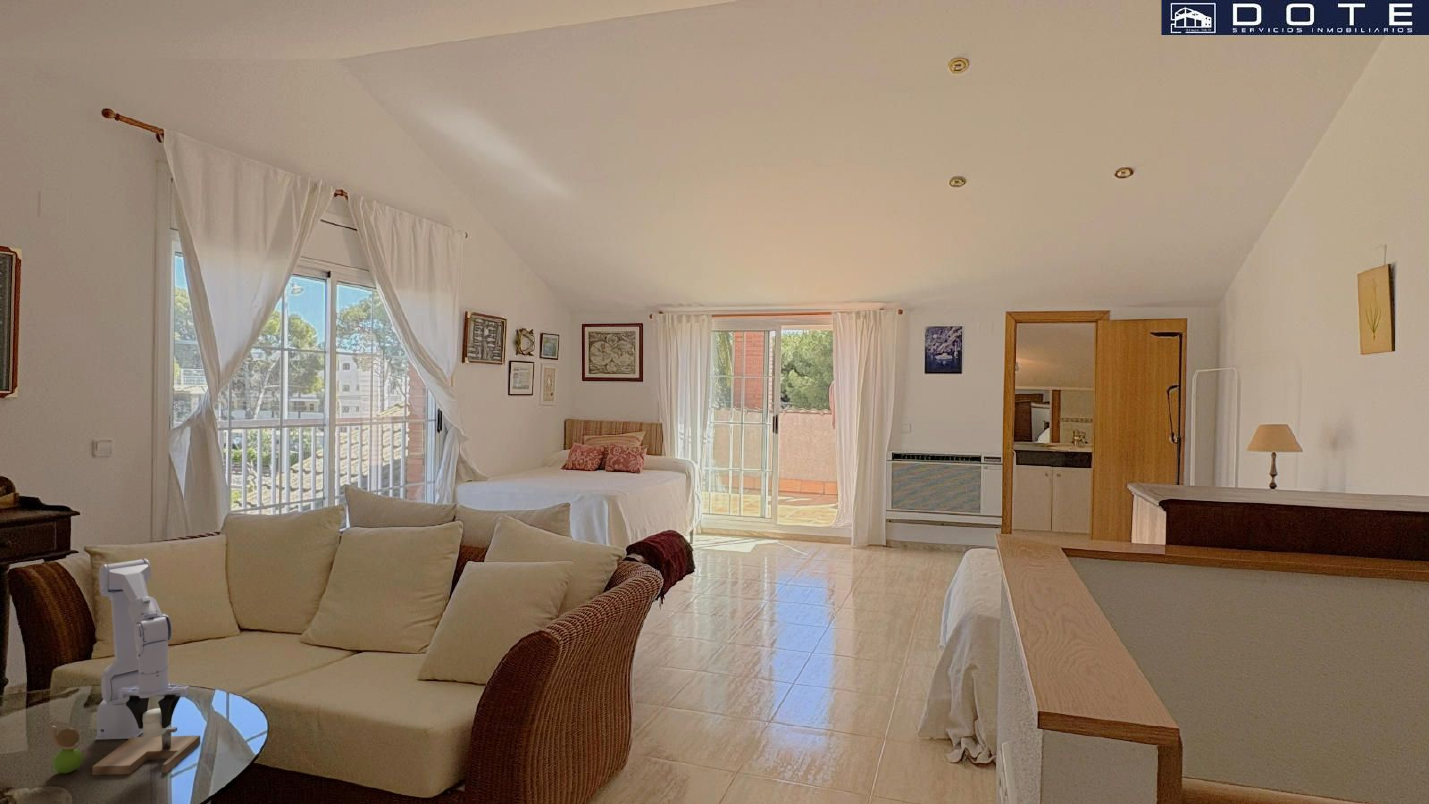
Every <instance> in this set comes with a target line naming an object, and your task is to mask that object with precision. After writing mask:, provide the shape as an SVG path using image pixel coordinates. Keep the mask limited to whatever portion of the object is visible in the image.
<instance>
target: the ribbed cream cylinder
mask: <svg viewBox="0 0 1429 804" xmlns="http://www.w3.org/2000/svg"><path fill="white" fill-rule="evenodd" d="M142 722H143V733H142V737H147V738H150V737H161V736H162V734H164V733H165V732H166V728H162V715H161V710H160V707H157V708H156V707H155V708H152V709H148V710H147V711H146V712H144V713H143V718H142Z"/></svg>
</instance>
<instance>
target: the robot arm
mask: <svg viewBox="0 0 1429 804" xmlns="http://www.w3.org/2000/svg"><path fill="white" fill-rule="evenodd" d="M151 578H152V567H151V563H150V560H149V559H147V558H145V557H144V558H141V559H136V560H129V561H128V560H127V561H121V562H115V563H109V564H108V563H107V564H106V563H104V564H102V565H101V566H100V567H99V571H98V584H99V593H100V595H101V597H107V598H109V602H110V605H111V606H110V607H111V608H110V609H111V621H112V640H113V652H114V653H113V654H114V655H113V656H114V661H112V663H110V664H109V665H108V666H106V668H105V669H104V670H103V671H102V673H101V681H100V691H101V698H102V701H101V702H100V704H99V705H98V708H97V710H96V731H97V732H96V734H97V735H96V737H95V738H94V740H98V741H99V740H126V739H127V740H128V739H130V738H131V737H140V735H141V734H142V735H143V722H142V718H143V713H144V712H146V711H148V710H149V709H148V708H149V701H150V697H152V698H153V697H163V698H161V699H160V700H159V701H158V702H157V704H158V705H159V708H160V710H161V715H162V728H167V727H169V726H171V724H172V719H173V716H174V712H175V709H176V707H177V704H178V703H179V701H180V699H181V698H186V696H188V695H189V694H190V685H182V684H181V685H180V684H173V683H170V681H169V676H170V675H169V641H170V640H171V638H172V633H173V632H172V629H173V628H172V627H173V626H172V622H171V619H170V617H169V615H168V614H166V613H162V610H161V608H160V606H159V604H158V601H157V599H155V598H154V597H152V596H149V593H148V588H147V584H149V581H150V580H151Z"/></svg>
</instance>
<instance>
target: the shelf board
mask: <svg viewBox="0 0 1429 804" xmlns="http://www.w3.org/2000/svg"><path fill="white" fill-rule="evenodd" d="M200 744H201V735H171V748H169V749H166V750H163V749H162V736H156V737H150V738H147V737H144V736H138V737H131V738H130V739H127V740H126V741H125V742H123V743H121V744H120V745H119V746H117V748H115V749H114V750H112V751H111V752H110V753H109V754H106V756H105V757H103V758H102V759H100V760H99V761H97V762H96V763H95V764H93V766H92V776H101V775H103V776H104V775H106V776H107V775H130V774H132V773H133V772H134V771H135V770H137V769H138V768H139V767H140V766H141V765H143V764H144V763H145V762H147V761H148V760H150V761H151V760H165V762H163V763H162V764H161V767H162V768H161V771H162V774H167V773H168V772H170V771H171V770H172V769H173V768H174V767H175V766H176V765H178V764H179V763H180V762H181V761H182V760H183V759H185V758H186V757H187V756H188V755H189V754H190V753H191V752H192V751H193V750H195V749H196V748H197V747H199V745H200Z"/></svg>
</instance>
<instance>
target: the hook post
mask: <svg viewBox="0 0 1429 804" xmlns="http://www.w3.org/2000/svg"><path fill="white" fill-rule="evenodd" d="M176 732H178V727H177V726H176V727H175V726H173V727H172V726H170V727H169V726H168V727H167V728H166V732H165V733H164V734H162V735H161V737H162V749H163V750H166V749H169V748H171V736H172V733H176Z"/></svg>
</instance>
